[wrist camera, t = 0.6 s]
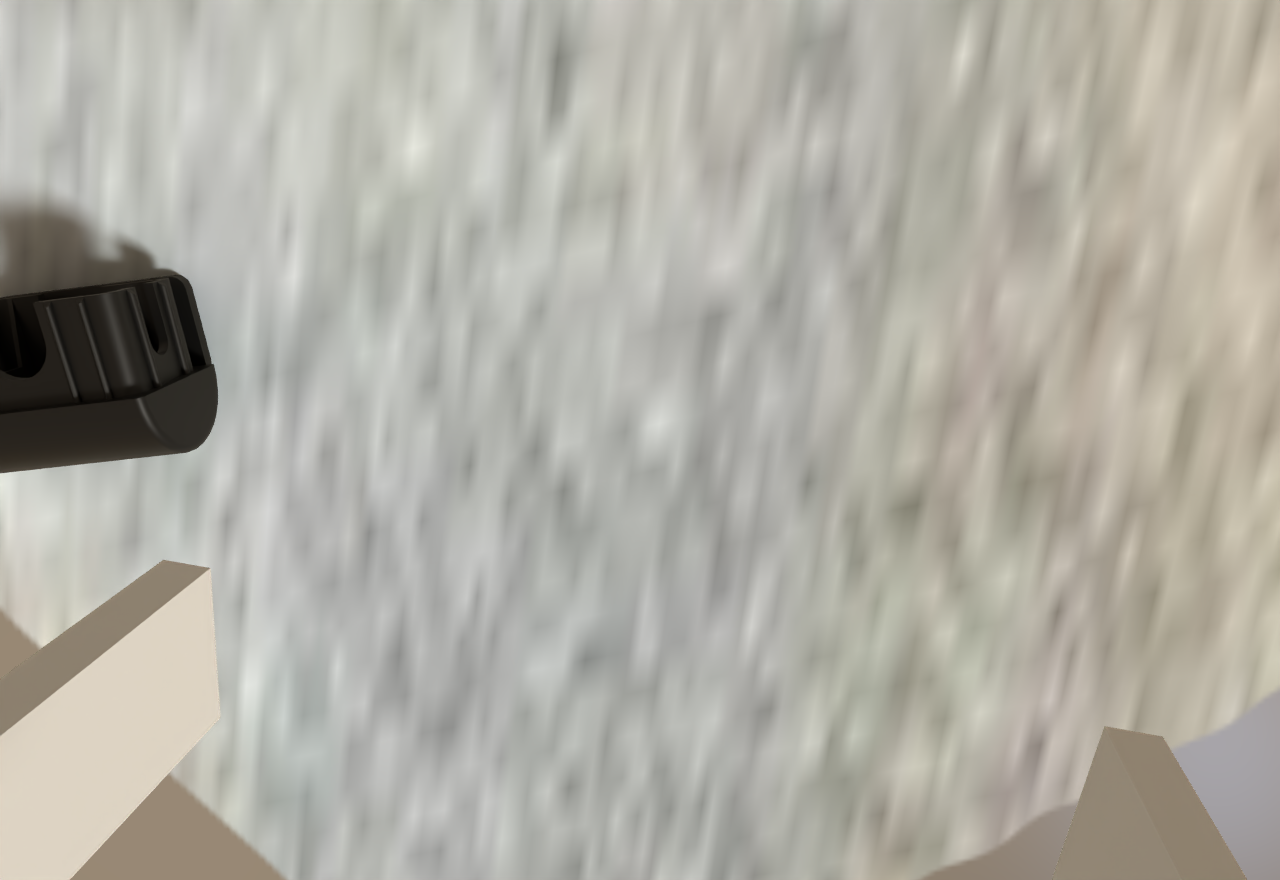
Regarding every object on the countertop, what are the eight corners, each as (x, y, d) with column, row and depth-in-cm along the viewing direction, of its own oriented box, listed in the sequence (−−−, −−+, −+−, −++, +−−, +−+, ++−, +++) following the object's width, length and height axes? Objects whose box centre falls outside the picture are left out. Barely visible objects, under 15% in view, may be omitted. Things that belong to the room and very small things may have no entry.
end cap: (37, 447, 44) (-74, 498, 37) (-12, 298, 42) (-138, 325, 35) (239, 424, 43) (163, 472, 37) (200, 272, 41) (111, 294, 35)
